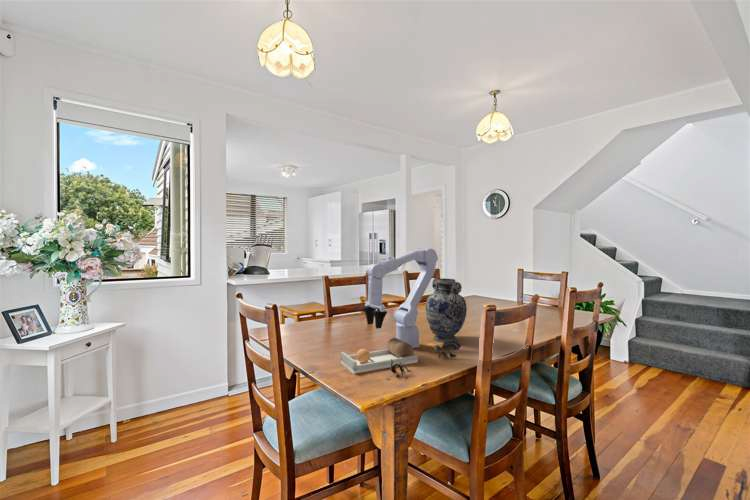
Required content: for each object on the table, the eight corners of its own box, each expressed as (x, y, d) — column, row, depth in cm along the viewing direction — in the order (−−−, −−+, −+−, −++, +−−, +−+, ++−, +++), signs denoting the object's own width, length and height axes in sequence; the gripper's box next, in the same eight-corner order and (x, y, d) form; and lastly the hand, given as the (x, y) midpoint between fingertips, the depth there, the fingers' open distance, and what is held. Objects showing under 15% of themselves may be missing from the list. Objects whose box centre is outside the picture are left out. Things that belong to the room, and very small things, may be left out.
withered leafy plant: (448, 360, 132) (464, 351, 137) (439, 342, 135) (455, 334, 140) (437, 365, 138) (453, 357, 143) (428, 348, 140) (444, 340, 145)
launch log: (400, 351, 142) (400, 337, 142) (413, 359, 133) (413, 343, 133) (387, 354, 139) (387, 338, 139) (399, 361, 131) (399, 345, 131)
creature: (409, 374, 124) (387, 369, 124) (413, 359, 124) (391, 354, 124) (413, 383, 116) (389, 378, 116) (416, 367, 116) (393, 362, 116)
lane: (400, 353, 144) (401, 343, 143) (417, 362, 133) (417, 351, 133) (341, 363, 132) (341, 352, 132) (353, 373, 121) (353, 362, 121)
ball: (361, 363, 132) (368, 351, 133) (367, 367, 127) (375, 355, 129) (351, 356, 130) (359, 344, 131) (357, 360, 125) (365, 348, 127)
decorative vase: (415, 335, 170) (417, 277, 169) (447, 332, 178) (449, 276, 177) (442, 348, 150) (443, 282, 150) (476, 343, 158) (478, 281, 157)
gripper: (359, 291, 150) (358, 323, 150) (374, 296, 137) (373, 330, 137) (373, 290, 153) (373, 321, 153) (390, 295, 140) (389, 329, 141)
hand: (374, 326), depth 146 cm, fingers open, 7 cm apart
